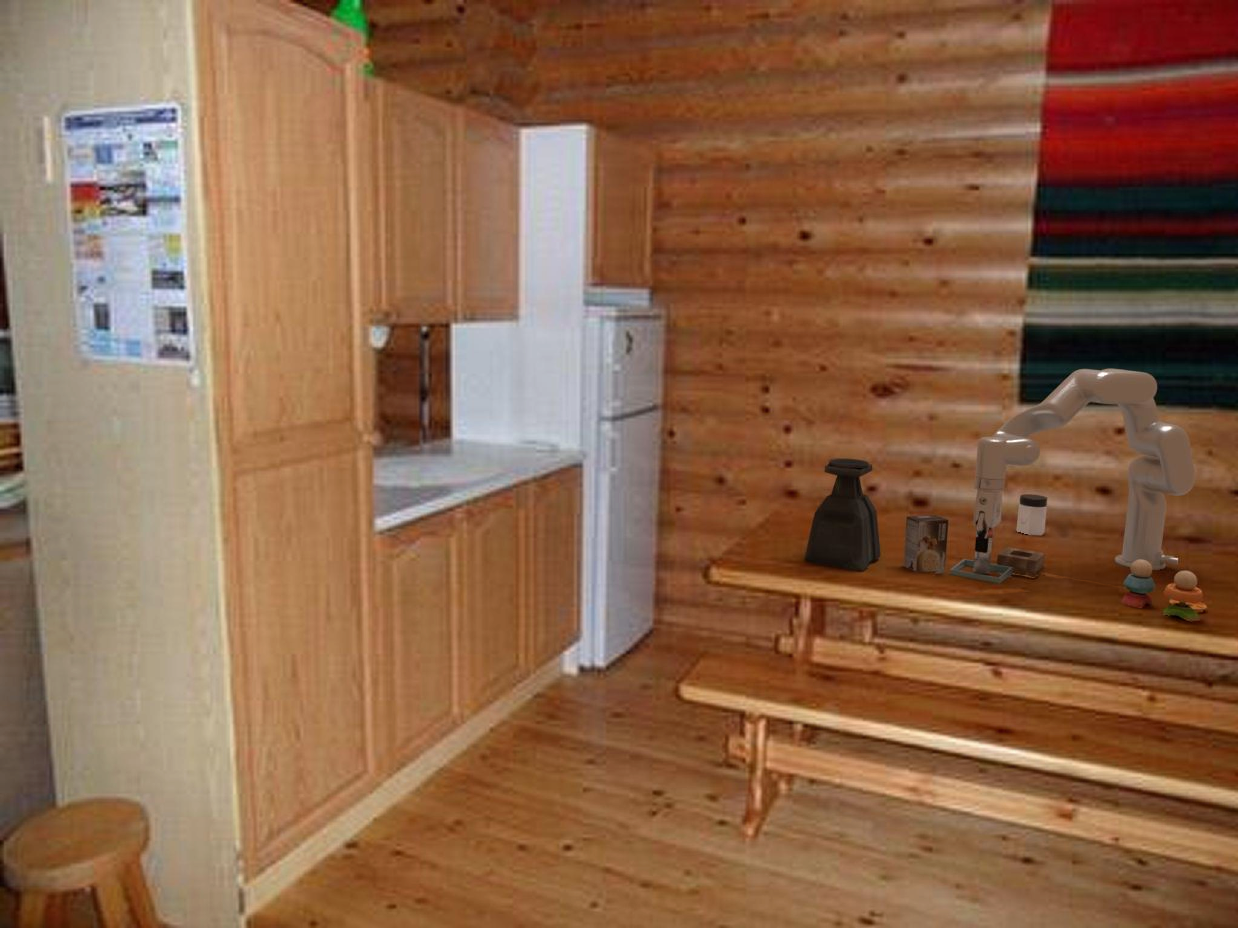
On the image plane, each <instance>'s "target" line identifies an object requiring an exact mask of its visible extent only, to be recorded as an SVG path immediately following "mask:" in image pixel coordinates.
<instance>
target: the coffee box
mask: <svg viewBox="0 0 1238 928" xmlns="http://www.w3.org/2000/svg"><path fill="white" fill-rule="evenodd" d="M905 523H906V524H905V539H904V541H905V542H904V543H905V544H904V553H903V554H904V556H903V567H904V568H906V569H909V570H912V571H913V572H916V573H924V572H925V573H926V572H935V573H934V574H937V575H938V574H945V573H946V560H947V547H948V531H949V519H947V518H945V517H941V516H939V515H936V514H930V515H929V514H928V515H907V516H906V521H905Z"/></svg>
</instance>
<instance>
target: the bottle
mask: <svg viewBox="0 0 1238 928" xmlns="http://www.w3.org/2000/svg"><path fill="white" fill-rule="evenodd" d="M872 471H873V463H870V462H869V461H866V460H863V459H856V458H838V457H837V458H833V459H828V464H825V465H824V473H826V474H829V475H834V476H836V477H835V478H836V479H835V481H834V485H833V487H832V491H831V493H830V494H828V495H827V496H825V498H824V499H823V500H822V502H821V503H820V504H819V506H818V508H817V509H816V510H815V512H814V514H813V519H812V524H811V527H810V531H809V536H808V539H807V540H808V541H807V545H806V548H805V554H804V558H803V560H804V562H805V563H811V564H814V565H815V564H817V565H822V566H829V567H833V568H839V569H846V570H851V571H857V572H863V571H865V570H866V569H867V568H868V567H869V565H870V563H874V562H876V561H877V560H879V559H880V557H881V556H882V553H881V544H880V533H879V523H878V522H879V521H878V515H877V514H878V512H877V509H876V507H875V505H874V504H873V503H872V501H871V499H870V497H869V496H868V494H865V493H863V488H862V483H861V478H860V477H862V476H865V475H867V474H869V473H871V472H872Z"/></svg>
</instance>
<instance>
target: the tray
mask: <svg viewBox="0 0 1238 928" xmlns="http://www.w3.org/2000/svg"><path fill="white" fill-rule="evenodd" d="M963 567H971V568H974V560H973V559H966V558H963V559H962V560H960V561H959V562H958V563H956V564H955V565H953V566H952V567H951V568H950V569H949V575H952V576H957V577H963V578H967V579H968V578H969V579H973V580H979V581H985V582H990V583H993V584H994V583H995V584H1001V583H1003V582H1004V581H1005V580H1006V579H1010V578H1009V577H1010V576H1011V575H1012V570H1013V567H1007V566H1002V565H997V563H996V564H995V563H990V569H989V571H992V572H994V573H996V572H997V573H996V574H999V575H1000V576H999V577H997V576H993V575H987V574H979V573H976V572H970V571H964V570H961V569H962V568H963ZM1012 576H1013V575H1012Z"/></svg>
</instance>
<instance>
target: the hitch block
mask: <svg viewBox="0 0 1238 928" xmlns="http://www.w3.org/2000/svg"><path fill="white" fill-rule="evenodd" d="M996 559H997V560H996V565H1002V566H1007V567H1013V570H1012V573H1015V574H1020V575H1028V576H1031V577H1036V575H1038V574H1039V572H1041V570H1042V568H1044V562H1045V552H1040V551H1034V550H1028V549H1027V550H1026V549H1021V548H1017V547H1016V548H1015V547H1009V546H1006V547H1005V548H1004V549H1002V551H1000V552H999V553H997V558H996ZM1039 575H1040V574H1039ZM1039 575H1038V576H1039ZM1036 578H1037V577H1036Z"/></svg>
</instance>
